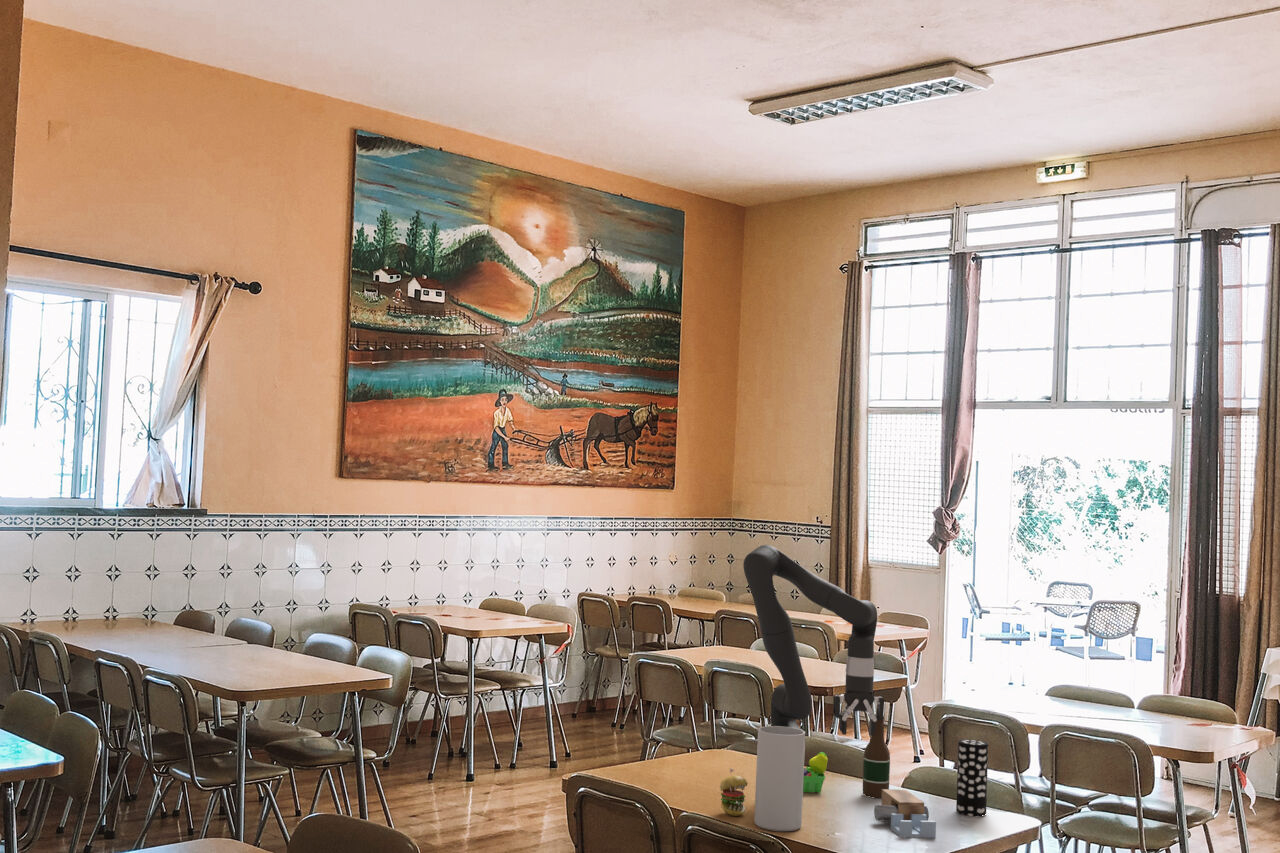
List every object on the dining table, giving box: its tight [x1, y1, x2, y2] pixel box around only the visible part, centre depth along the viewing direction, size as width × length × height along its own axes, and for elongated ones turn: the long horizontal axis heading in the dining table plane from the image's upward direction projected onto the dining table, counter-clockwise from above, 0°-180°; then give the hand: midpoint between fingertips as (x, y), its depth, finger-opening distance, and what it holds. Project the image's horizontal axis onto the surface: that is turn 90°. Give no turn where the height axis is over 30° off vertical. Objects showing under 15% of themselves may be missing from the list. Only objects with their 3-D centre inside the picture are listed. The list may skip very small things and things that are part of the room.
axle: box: [873, 804, 930, 822], centre depth 316 cm, size 14×4×4 cm, turn 97°
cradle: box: [890, 813, 937, 838], centre depth 307 cm, size 10×8×4 cm
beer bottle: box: [862, 713, 891, 799], centre depth 349 cm, size 8×8×24 cm
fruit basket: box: [803, 751, 829, 794], centre depth 352 cm, size 11×9×11 cm
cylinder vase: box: [753, 725, 806, 832], centre depth 308 cm, size 12×12×25 cm
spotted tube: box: [955, 738, 989, 817], centre depth 333 cm, size 8×8×20 cm
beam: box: [880, 788, 925, 820], centre depth 319 cm, size 7×14×7 cm, turn 7°
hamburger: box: [719, 768, 748, 817], centre depth 318 cm, size 8×7×12 cm
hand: (857, 734), depth 316 cm, fingers open, 7 cm apart
